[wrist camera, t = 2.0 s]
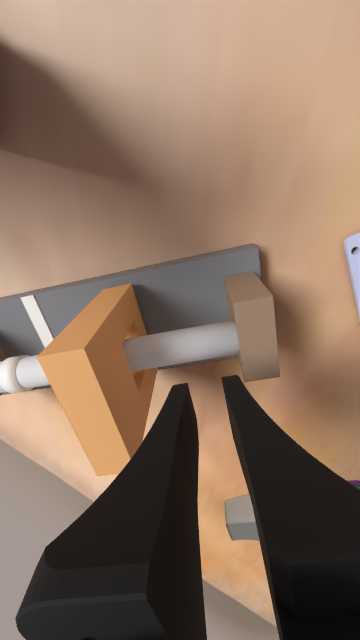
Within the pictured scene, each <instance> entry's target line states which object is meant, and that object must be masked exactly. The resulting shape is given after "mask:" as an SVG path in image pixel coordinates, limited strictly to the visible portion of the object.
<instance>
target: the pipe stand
mask: <svg viewBox="0 0 360 640" xmlns="http://www.w3.org/2000/svg"><path fill="white" fill-rule="evenodd" d="M131 283H132V287H133V290H134V293H135V297H136V300H137V303H138V306H139V310H140V313H141V316H142V320H143V323H144V326H145V329H146V333H147V335H146V336H140V337H135V338H129V339H124V341H123V343H122V346H123V349H124V352H125V354H126V357H127V360H128V363H129V366H130V369H131V371H138V370H144V369H150V368H156V367H157V370H160V369H166V368H172V367H179V366H185V365H191V364H197V363H203V362H210V361H216V360H222V359H228V358H234V357H238V359H239V363H240V367H241V370H242V374H243V377H244V381H245V382H249V381H255V380H262V379H269V378H276V377H280V371H279V359H278V347H277V336H276V324H275V312H274V301H273V295H272V294H271V293H270V291H269V290H268V289H267V288H266V287H265V285H264V284H263V283H262V281H261V271H260V261H259V251H258V247H257V246H256V245H255V244H248V245H243V246H239V247H234V248H229V249H225V250H220V251H215V252H211V253H206V254H202V255H197V256H192V257H188V258H183V259H178V260H174V261H169V262H164V263H160V264H155V265H150V266H146V267H141V268H136V269H132V270H127V271H122V272H118V273H113V274H108V275H104V276H99V277H94V278H90V279H85V280H80V281H76V282H71V283H66V284H62V285H57V286H52V287H48V288H43V289H38V290H34V291H29V292H24V293H20V294H15V295H10V296H6V297H1V298H0V395H5V394H11V393H17V392H23V391H30V390H36V389H42V388H48V387H51V385H50V383H49V381H48V379H47V377H46V375H45V373H44V371H43V369H42V367H41V365H40V363H39V361H38V360H37V358H36V357H37V356H38V355H39V354H40V353H41V352H42V351H43V350H44V349H45V348H46V347H47V346H48V345H49V344H50V343H51V342H52V341H53V340H54V339H55V338H56V337H57V336H58V335H59V334H60V333H61V332H62V331H63V330H64V329H65V327H66V326H67V325H68V324H69V323H70V322H71V321H72V320H73V319H74V318H75V317H76V316H77V315H78V314H79V313H80V312H81V311H82V310H83V309H84V308H85V307H86V306H87V305H88V304H89V303H90V302H91V301H92V300H93V299H94V298H95V297H96V296H97V295H98V294H99V293H100V292H101V291H102V290H103V289H106V288H111V287H116V286H121V285H126V284H131Z"/></svg>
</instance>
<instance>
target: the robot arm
mask: <svg viewBox="0 0 360 640" xmlns="http://www.w3.org/2000/svg"><path fill="white" fill-rule="evenodd" d="M354 247H356V251H355V252H354V253H351V250H352V249H353V248H354ZM344 251H345V255H346V260H347V265H348V270H349V274H350V279H351V284H352V289H353V294H354V298H355V303H356V308H357V313H358V318H359V322H360V232H358V233H356V234H353V235H351V236H349V237H347V238H346V239H345V241H344ZM222 382H223V388H224V393H225V398H226V403H227V408H228V414H229V419H230V424H231V429H232V434H233V439H234V442H235V446H236V449H237V453H238V456H239V460H240V463H241V467H242V470H243V474H244V477H245V480H246V484H247V487H248V491H249V494H250V498H251V502H252V506H253V511H254V516H255V521H256V526H257V531H258V536H259V540H260V545H261V550H262V555H263V560H264V565H265V570H266V575H267V579H268V584H269V589H270V594H271V599H272V604H273V609H274V614H275V619H276V624H277V629H278V633H279V638H280V640H360V490H359V489H358V488H356V487H355V486H353V485H352V484H350V483H349V482H347V481H346V480H344V479H343V478H342V477H340V476H339V475H337V474H336V473H334V472H333V471H332V470H330V469H329V468H328V467H326V466H325V465H324V464H322V463H321V462H320V461H318V460H317V459H316V458H314V457H313V456H312V455H310V454H309V453H308V452H307V451H306V450H304V449H303V448H302V447H301V446H300V445H298V444H297V443H296V442H295V441H294V440H293V439H292V438H290V437H289V436H288V435H287V434H286V433H285V432H284V431H283V430H282V429H281V428H280V427H279V426H278V425H277V424H276V423H275V422H274V421H273V420H272V419H271V418H270V417H269V416H268V415H267V414H266V413H265V411H264V410H263V409H262V408H261V407H260V406H259V404H258V403H257V402H256V401H255V400H254V398H253V397H252V396H251V394H250V393H249V392H248V390H247V389H246V387H245V386H244V384H243V383H242V381H241V379H240V377H239V376H237V375H233V376H227V377H222ZM198 457H199V439H198V427H197V418H196V414H195V411H194V407H193V403H192V399H191V395H190V391H189V387H188V383H184V384H178V385H173V386H172V388H171V390H170V392H169V394H168V397H167V399H166V401H165V403H164V405H163V407H162V409H161V411H160V413H159V415H158V417H157V418H156V420H155V422H154V424H153V426H152V427H151V429H150V431H149V432H148V434H147V436H146V437H145V439H144V440H143V442H142V444H141V445H140V447H139V448H138V450H137V451H136V452H135V454H134V455H133V457H132V458H131V459H130V461H129V462H128V463H127V465H126V466H125V467H124V468H123V470H122V471H121V472H120V473H119V475H118V476H117V477H116V478H115V480H114V481H113V482H112V483H111V484H110V485H109V487H108V488H107V489H106V490H105V491H104V492H103V493H102V494H101V495H100V496H99V497H98V498H97V499H96V501H95V502H94V503H93V504H92V505H91V506H90V507H89V508H88V509H87V510H86V511H85V512H84V513H83V514H82V515H81V516H80V517H79V518H78V519H77V520H75V521H74V522H73V523H72V524H71V525H70V526H69V527H68V528H67V529H66V530H64V531H63V532H62V533H61V534H60V535H59V536H58V537H57V538H56V539H55V540H54V541H52V542H51V543H50V544H49V545H48V546H46V548H45V550H44V552H43V554H42V556H41V558H40V560H39V562H38V564H37V567H36V569H35V572H34V574H33V577H32V579H31V581H30V584H29V586H28V589H27V591H26V594H25V596H24V599H23V601H22V604H21V606H20V609H19V611H18V614H17V616H16V623H17V628H18V630H19V632H20V633H21V635H22V636H23V637H24V638H25V639H26V640H207V635H206V623H205V612H204V598H203V586H202V572H201V557H200V543H199V527H198V502H197V497H198Z"/></svg>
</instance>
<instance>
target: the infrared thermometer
mask: <svg viewBox="0 0 360 640" xmlns="http://www.w3.org/2000/svg"><path fill="white" fill-rule="evenodd" d="M347 482H349V483H350V484H352V485H353V486H355V487H356V488H358V489H359V490H360V482H359V481H356V480H355V481H347ZM225 518H226V527H227V529H228V532H229V535H230V537H231V539H232V540H233V541H234V540H258V541H260V540H259V536H258V531H257V526H256V521H255V516H254V511H253V506H252V502H251V498H250V494H248V495H243V496H239V497H235V498H232V499H229V500H227V501H225Z"/></svg>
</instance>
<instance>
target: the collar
mask: <svg viewBox="0 0 360 640" xmlns="http://www.w3.org/2000/svg"><path fill="white" fill-rule="evenodd" d="M146 335H147V333H146V329H145V326H144V323H143V320H142V316H141V313H140V310H139V306H138V303H137V300H136V297H135V293H134V290H133V287H132V283H131V284H126V285H121V286H116V287H111V288H106V289H103V290H102V291H101V292H100V293H99V294H98V295H97V296H96V297H95V298H94V299H93V300H92V301H91V302H90V303H89V304H88V305H87V306H86V307H85V308H84V309H83V310H82V311H81V312H80V313H79V314H78V315H77V316H76V317H75V318H74V319H73V320H72V321H71V322H70V323H69V324H68V325H67V326H66V327H65V329H64V330H63V331H62V332H61V333H60V334H59V335H58V336H57V337H56V338H55V339H54V340H53V341H52V342H51V343H50V344H49V345H48V346H47V347H46V348H45V349H44V350H43V351H42V352H41V353H40V354H39V355H38V356H37V357H36V358H37V360H38V361H39V363H40V365H41V367H42V369H43V371H44V373H45V375H46V377H47V379H48V381H49V383H50V385H51V387H52V389H53V391H54V393H55V395H56V397H57V399H58V401H59V402H60V404H61V406H62V408H63V410H64V412H65V414H66V416H67V418H68V420H69V422H70V424H71V426H72V428H73V430H74V432H75V434H76V436H77V438H78V440H79V442H80V443H81V445H82V447H83V449H84V451H85V453H86V455H87V457H88V459H89V461H90V463H91V465H92V467H93V469H94V471H95V473H96V475H97V476H101V475H111V474H119V473H120V472H121V471H122V470H123V468H124V467H125V466H126V465H127V463H128V462H129V461H130V459H131V458H132V457H133V455H134V454H135V452H136V451H137V450H138V448H139V447H140V445H141V444H142V440H143V435H144V430H145V426H146V421H147V416H148V411H149V407H150V402H151V397H152V392H153V388H154V383H155V378H156V373H157V367H156V368H150V369H144V370H138V371H131V369H130V366H129V363H128V360H127V357H126V354H125V352H124V349H123V346H122V343H123V341H124V339H129V338H135V337H140V336H146Z"/></svg>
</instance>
